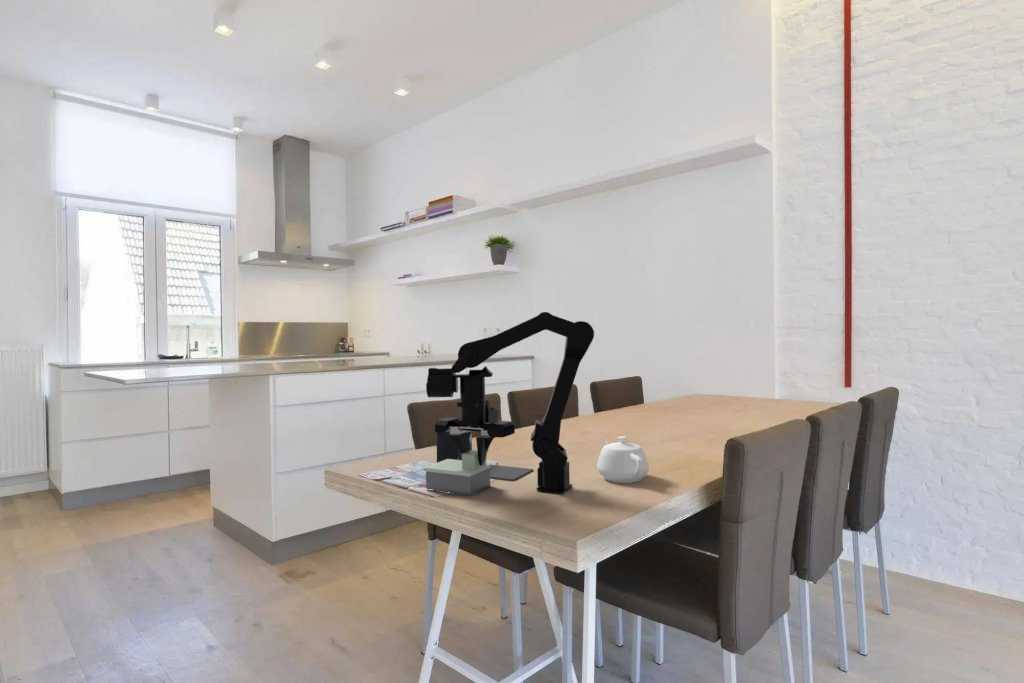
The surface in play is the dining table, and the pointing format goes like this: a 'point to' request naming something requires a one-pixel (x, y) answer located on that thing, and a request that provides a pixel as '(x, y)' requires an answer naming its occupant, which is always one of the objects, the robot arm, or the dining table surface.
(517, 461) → the dining table surface
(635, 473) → the teapot
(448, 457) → the small box
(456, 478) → the tub
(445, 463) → the lid
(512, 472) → the mat
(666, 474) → the dining table surface
